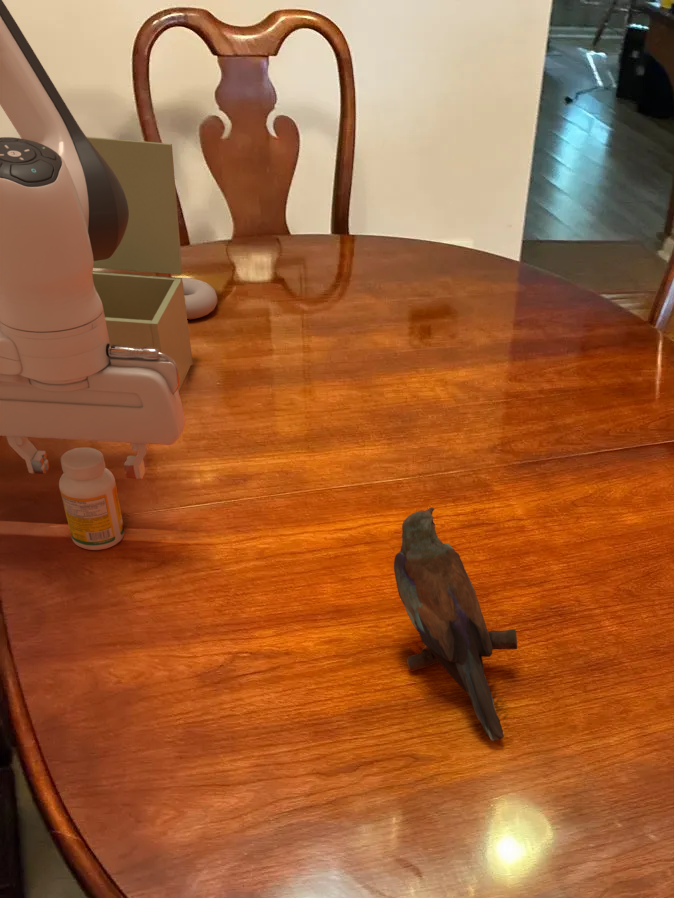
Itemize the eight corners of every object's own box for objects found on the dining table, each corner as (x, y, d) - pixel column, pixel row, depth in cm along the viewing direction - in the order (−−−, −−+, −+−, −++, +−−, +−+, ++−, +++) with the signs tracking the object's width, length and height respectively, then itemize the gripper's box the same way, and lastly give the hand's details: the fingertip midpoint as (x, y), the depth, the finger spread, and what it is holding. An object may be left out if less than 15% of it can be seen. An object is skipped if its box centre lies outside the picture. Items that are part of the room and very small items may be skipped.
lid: (170, 144, 112) (172, 143, 113) (60, 135, 111) (62, 134, 112) (181, 274, 120) (182, 273, 120) (78, 266, 119) (80, 265, 120)
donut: (138, 319, 140) (204, 327, 139) (134, 295, 137) (201, 304, 136) (165, 292, 147) (228, 300, 146) (162, 270, 145) (225, 278, 144)
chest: (171, 422, 119) (157, 323, 110) (68, 415, 118) (45, 315, 110) (194, 371, 129) (182, 277, 120) (98, 365, 128) (79, 269, 120)
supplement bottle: (102, 557, 98) (84, 478, 92) (60, 541, 100) (40, 462, 93) (136, 530, 102) (121, 452, 96) (95, 516, 103) (78, 438, 97)
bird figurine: (558, 726, 85) (525, 503, 80) (456, 756, 82) (416, 525, 77) (498, 694, 97) (466, 498, 92) (407, 719, 94) (369, 518, 89)
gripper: (181, 334, 89) (199, 462, 99) (-44, 320, 88) (-5, 451, 97) (166, 365, 85) (187, 496, 94) (-72, 350, 83) (-28, 485, 93)
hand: (88, 473), depth 96 cm, fingers open, 8 cm apart
